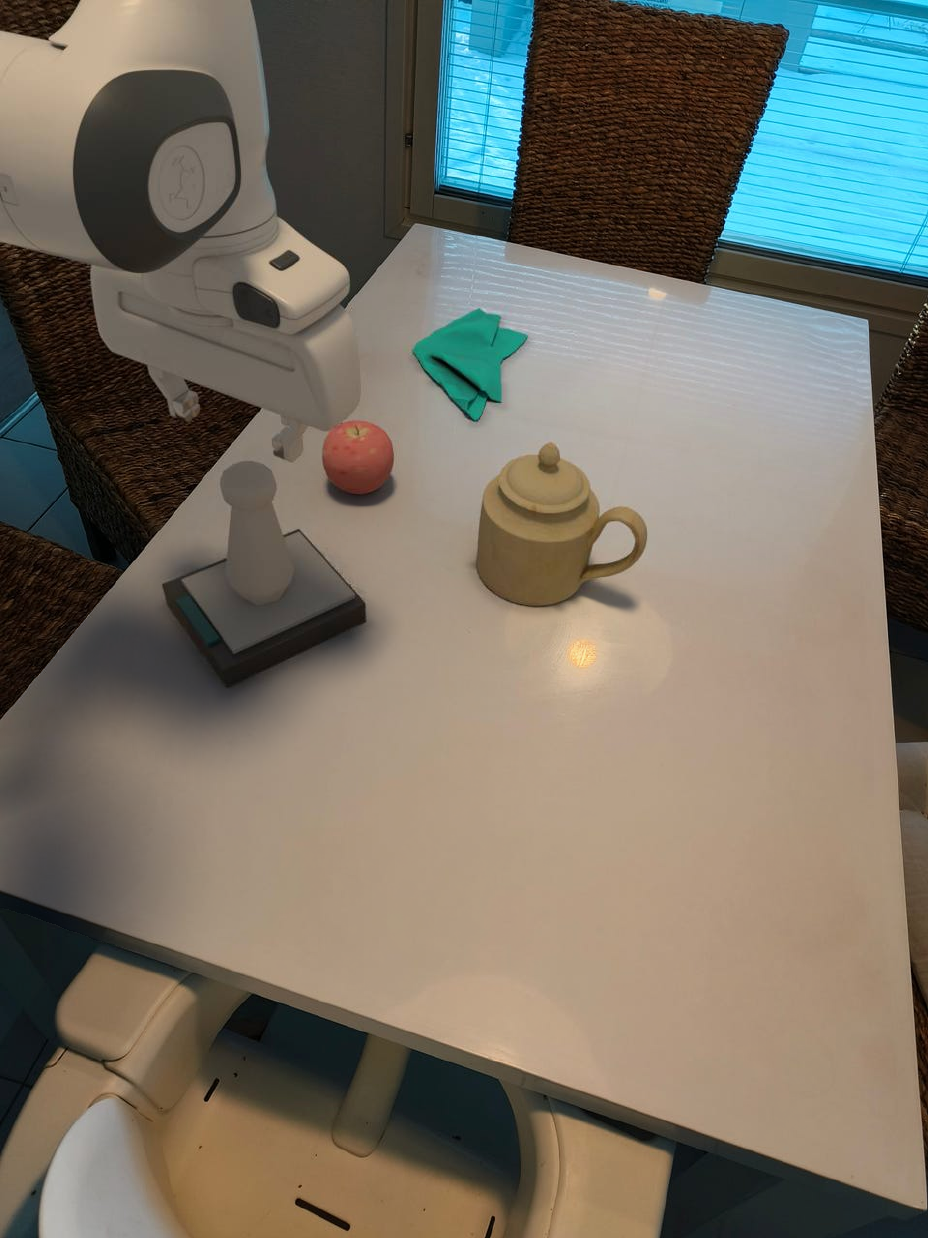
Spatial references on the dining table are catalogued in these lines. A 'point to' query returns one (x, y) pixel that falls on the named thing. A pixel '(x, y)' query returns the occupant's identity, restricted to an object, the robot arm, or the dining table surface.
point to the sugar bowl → (545, 530)
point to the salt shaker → (255, 535)
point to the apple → (357, 456)
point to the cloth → (469, 358)
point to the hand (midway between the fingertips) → (236, 435)
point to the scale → (264, 613)
